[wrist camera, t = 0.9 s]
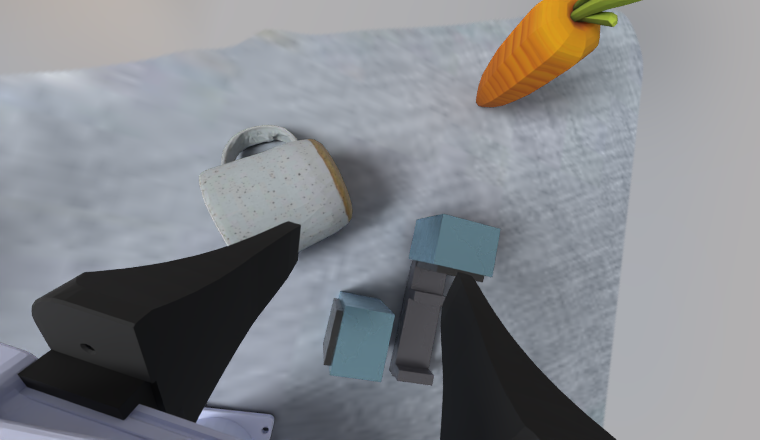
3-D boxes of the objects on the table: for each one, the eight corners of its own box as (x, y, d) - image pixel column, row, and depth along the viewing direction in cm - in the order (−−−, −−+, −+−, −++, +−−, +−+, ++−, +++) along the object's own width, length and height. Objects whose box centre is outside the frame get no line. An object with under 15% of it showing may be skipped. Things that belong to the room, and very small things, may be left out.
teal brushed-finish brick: (378, 298, 25) (395, 314, 19) (367, 350, 24) (381, 382, 19) (334, 290, 24) (338, 304, 19) (321, 343, 23) (322, 373, 18)
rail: (428, 375, 25) (466, 422, 19) (381, 368, 24) (403, 415, 18) (456, 229, 27) (501, 225, 20) (412, 217, 26) (444, 210, 19)
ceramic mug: (353, 224, 25) (366, 215, 17) (265, 270, 23) (237, 282, 15) (297, 117, 25) (286, 61, 17) (203, 155, 23) (145, 111, 15)
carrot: (469, 69, 28) (629, -114, 14) (508, 98, 29) (699, -48, 14) (447, 108, 27) (592, -42, 13) (487, 136, 28) (668, 24, 13)
